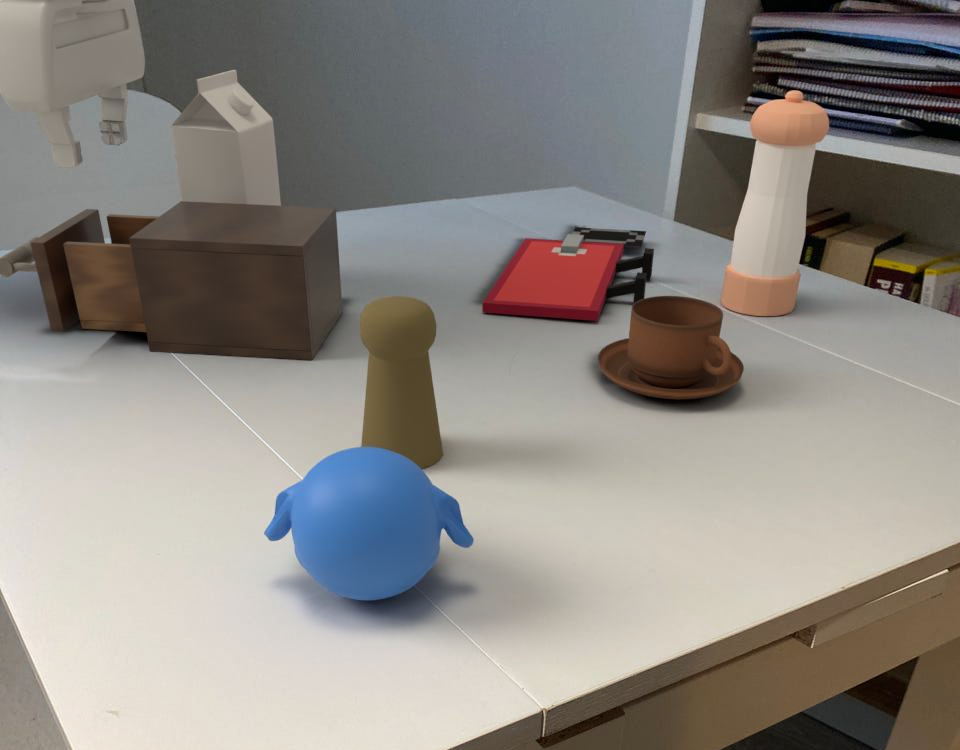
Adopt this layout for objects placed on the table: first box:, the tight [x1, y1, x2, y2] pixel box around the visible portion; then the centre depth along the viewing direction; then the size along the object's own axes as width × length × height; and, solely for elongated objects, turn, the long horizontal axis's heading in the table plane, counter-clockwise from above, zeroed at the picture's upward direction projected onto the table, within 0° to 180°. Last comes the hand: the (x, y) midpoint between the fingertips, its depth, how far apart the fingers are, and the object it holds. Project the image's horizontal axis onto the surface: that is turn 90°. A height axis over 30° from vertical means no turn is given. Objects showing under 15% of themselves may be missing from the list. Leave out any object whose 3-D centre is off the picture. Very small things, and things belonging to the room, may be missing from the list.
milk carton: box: [170, 69, 282, 206], centre depth 99 cm, size 7×7×19 cm
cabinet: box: [129, 200, 343, 361], centre depth 90 cm, size 15×13×10 cm
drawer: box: [0, 208, 160, 333], centre depth 91 cm, size 18×11×8 cm, turn 84°
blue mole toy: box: [263, 446, 475, 601], centre depth 58 cm, size 12×12×8 cm
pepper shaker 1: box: [359, 295, 444, 470], centre depth 70 cm, size 6×6×11 cm
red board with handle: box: [481, 226, 655, 322], centre depth 108 cm, size 30×3×15 cm
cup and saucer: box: [597, 295, 745, 400], centre depth 83 cm, size 12×12×6 cm
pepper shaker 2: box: [720, 90, 830, 317], centre depth 96 cm, size 7×7×19 cm
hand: (93, 154), depth 85 cm, fingers open, 8 cm apart
